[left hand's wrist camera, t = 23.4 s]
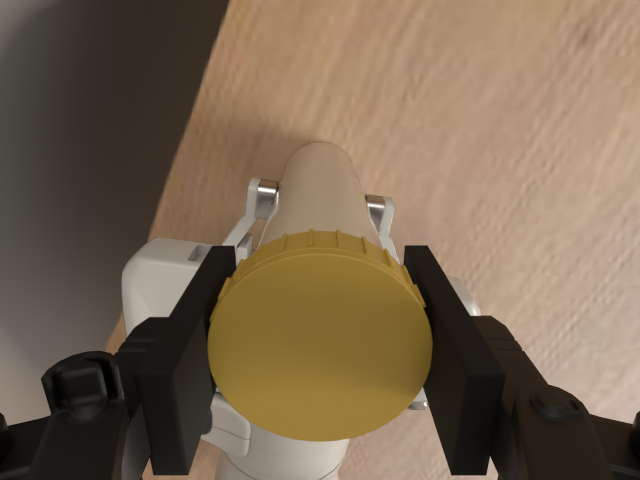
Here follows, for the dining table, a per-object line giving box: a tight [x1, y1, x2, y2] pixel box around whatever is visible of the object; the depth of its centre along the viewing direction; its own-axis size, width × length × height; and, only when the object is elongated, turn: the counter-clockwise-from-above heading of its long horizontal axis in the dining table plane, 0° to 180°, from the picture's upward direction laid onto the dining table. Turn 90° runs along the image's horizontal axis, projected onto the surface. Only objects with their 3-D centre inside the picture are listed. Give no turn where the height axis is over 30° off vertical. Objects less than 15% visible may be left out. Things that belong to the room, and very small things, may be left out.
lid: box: [207, 228, 433, 442], centre depth 12 cm, size 6×6×2 cm
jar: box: [256, 142, 384, 250], centre depth 20 cm, size 5×5×19 cm
